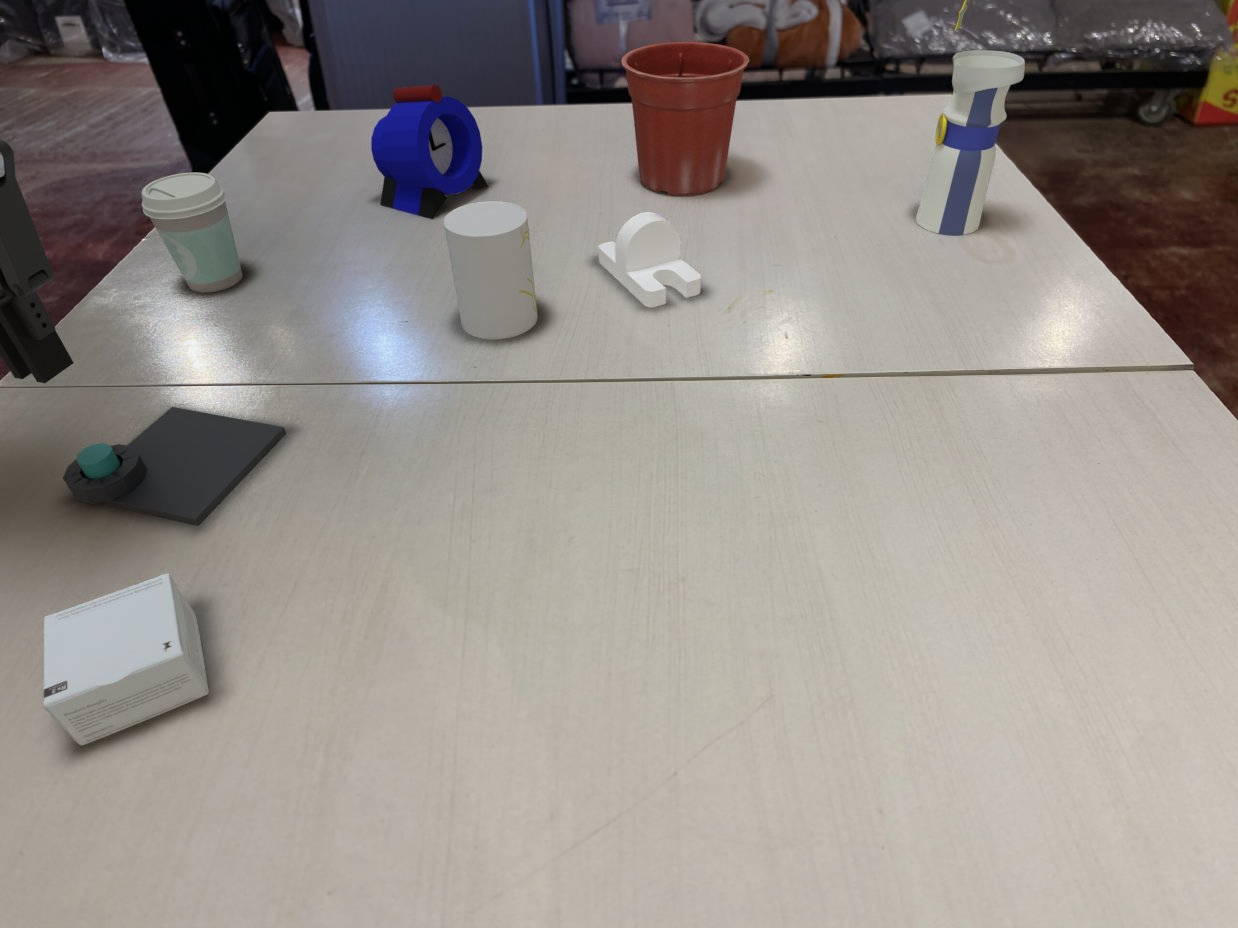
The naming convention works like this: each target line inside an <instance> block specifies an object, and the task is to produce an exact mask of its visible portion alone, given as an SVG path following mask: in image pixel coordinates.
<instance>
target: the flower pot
mask: <svg viewBox="0 0 1238 928" xmlns="http://www.w3.org/2000/svg"><path fill="white" fill-rule="evenodd" d="M749 63H750V58H749V56H748V55H747V54H746V53H745V52H743V51H742V50H739V49H738V48H735V47H732V46H727V45H724V44H723V45H722V44H718V43H712V42H711V43H709V42H701V41H672V42H663V43H662V42H661V43H656V44H655V43H654V44H649V45H645V46H641V47H638V48H635V49H632V50H630V51H629V52H627V53H625V54H624V55H623V56H622V58H621V66H622V67H623V68H622V69H624V70H625V73H626V81H627V90H628V94H629V96H630V98H631V107H632V114H633V125H634V126H633V127H634V133H635V135H634V136H635V145H636V156H637V164H638V165H637V166H638V172H639V173H638V174H639V175H638V176H639V181H640V183H641V184H642V185H643V186H644V187H646V188H647V189H649V190H651V191H653V192H655V193H659V192H660V191H664V192H666V193H668V195H670V196H686V197H688V196H696V195H702V194H704V193H708V192H712V191H714V190H716V189H717V187H718V186H719V184H723V183H724V181H725V176H726V170H727V165H728V164H727V163H728V157H729V151H730V145H731V137H732V131H733V124H734V118H735V111H736V105H737V99H738V96H739V95H740V93H741V88H742V82H743V76H744V75H743V74H744V70H745V69H746V68H747V67H748V65H749Z"/></svg>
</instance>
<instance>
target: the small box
mask: <svg viewBox="0 0 1238 928" xmlns="http://www.w3.org/2000/svg"><path fill="white" fill-rule="evenodd" d="M42 688H43V689H42V690H43V691H42V700H43V701H42V707H43V709H44V710H45V711H46V712H47V713H48V714H49V715H50V716H51V717H52V718H53V719H54V720H55V721H56V722H57V723H58V724H59V725H60V726H61V727H62V729H64V730H65V732H66V733H67V734H68V735H69V736H70V737H71V738H72V740H74V741H75V742H76V743H77V745H79V746H84V745H87V744H90V743H92V742H95V741H97V740H100V739H103V738H105V737H109V736H110V735H113V734H115V733H119V732H121V731H123V730H126V729H128V728H130V727H132V726H135V725H138V724H140V723H143V722H145V721H148V720H150V719H153V718H156V717H158V716H161V715H162V714H165V713H167V712H169V711H172V710H174V709H176V708H179V707H182V706H185V705H187V704H188V703H192V702H194V701H195V700H197V699H198V700H199V699H200V698H203V697H205V696H208V695H209V693H210V690H209V684H208V678H207V672H206V665H205V658H204V654H203V647H202V641H201V635H200V629H199V624H198V619H197V616H196V613H195V611H194V610H193V609H192V608H191V606H190V604H189V603H188V601H187V600H186V598H185V596H184V595H183V593H182V592H181V590H180V588H179V587H178V585H177V583H176V582H175V580H174V579H173V576H171V574H170V573H169V572H166V573H163V574H160V575H158V576H155V577H152V578H150V579H147V580H144V581H141V582H138V583H136V584H133V585H130V586H128V587H125V588H121V589H119V590H116V591H113V592H111V593H108V594H105V595H102V596H100V597H97V598H94V599H91V600H89V601H86V602H83V603H80V604H77V605H75V606H72V607H69V608H66V609H63V610H60V611H56V612H54V613H52V614H48V615H46V616H44V617H43V687H42Z"/></svg>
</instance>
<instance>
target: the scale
mask: <svg viewBox="0 0 1238 928" xmlns="http://www.w3.org/2000/svg"><path fill="white" fill-rule="evenodd" d="M286 435H287V431H286V429H285V427H284V426H279V425H274V424H270V423H269V424H268V423H263V422H258V421H252V420H246V419H241V418H236V417H231V416H226V415H225V416H224V415H218V414H213V413H208V412H204V411H197V410H193V409H192V410H191V409H187V408H182V407H181V408H180V407H175V406H171V407H170V408H169V409H168V410H166V412H164V413H163V414H162V415H161V416H159V418H157V419H156V420H154V422H153V423H151V424H150V425H149V426H148V427H147V428H146V429H145V430H143V431H142V432H141V433H140V434H139V435H137V437H135V438H134V439H133V440H131V442H129V443H128V444H126V445H124V444H120V443H118V444H109V445H110V446H111V447H112V449H113V451H114V453H115V454H116V456H117V458H118V460H119V461H120V467H119V468H118V469H117V470H116V471H115V472H114V473H112V474H109V475H107V476H105V477H103V478H97V479H90V478H88V477H87V476H86V475H85V473H84V472H83V470H82V469H81V467H80V465H79V464H78V462H77V460H76V459H74V460H73V462H71V463H70V464H68V465H67V466H66V469H65V471H64V474H63V477H62V479H63V481H64V482H65V485H66V486H67V487H68V489H69V490H70V492H71V493H72V495H73V497H74V498H75V500H76V501H78V502H82V503H86V504H90V505H95V504H99V505H104V506H109V507H113V508H118V509H122V510H126V511H131V512H136V513H141V514H145V515H149V516H154V517H159V518H162V519H167V520H172V521H176V522H181V523H186V524H190V525H195V526H199V525H200V524H202V522H204V521H205V520H206V518H207V517H208V516H209V515H211V513H212V512H213V511H214V510H215V509H216V508H217V507H218V506H219V504H220V503H221V502H222V501H224V500H225V498H226V497H227V496H228V495H229V494H230V493H231V492H232V491H233V490H234V489H235V488H236V487H237V486H238V485H239V484H240V483H241V482H242V481H243V480H244V478H245V477H247V475H248V474H249V473H250V472H251V471H252V470H253V469H254V468H255V467H256V466H257V465H258V464H259V463H260V462H261V461H262V459H263V458H264V457H265V456H266V455H267V454H269V452H270V451H271V450H273V448H274V447H275V446H276V445H277V444H278V443H279V442H280V440H281V439H282V438H283V437H284V436H286Z"/></svg>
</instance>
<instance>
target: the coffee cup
mask: <svg viewBox="0 0 1238 928" xmlns="http://www.w3.org/2000/svg"><path fill="white" fill-rule="evenodd" d="M227 197H228V196H227V193H226V192H225V190H224V188H223V186H221V184H220V183H219V182H218V181H217V179H216V178H215V176H213V175H211V174H210V173H209V174H208V173H206V172H183V173H176V174H175V173H174V174H171V175H167V176H163V177H161V178H158V179H155V180H153V181H151V182H149V183H148V184H146V185H145V186H144V187H143V188H142V189H141V198H142V199H141V200H142V201H141V207H142V212H143V214H144V215H145V216H147V217H149V219H150V221H151V222H152V224H153V226H154V227H155V230H156V231H157V233H158V235H159V237H160V238H161V240H162V242H163V244H164V245H165V248H166V249H167V251H168V253H169V254H170V256H171V258H172V260H173V262H174V263H175V265H176V266H177V268H178V270H179V272H180V273H181V275H182V277H183V279H184V280H185V282H186V284H187V286H188V287H189V289H190V290H192V291H193V292H197V293H215V292H219V291H223V290H227V289H229V288H231V287H234V286H235V285H237V284H238V283H239V282H240V281H242V279H243V272H242V267H241V266H242V265H241V262H240V258H239V254H238V248H237V245H236V241H235V236H234V233H233V227H232V224H231V219H230V215H229V210H228V207H227V202H226V200H227Z"/></svg>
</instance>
